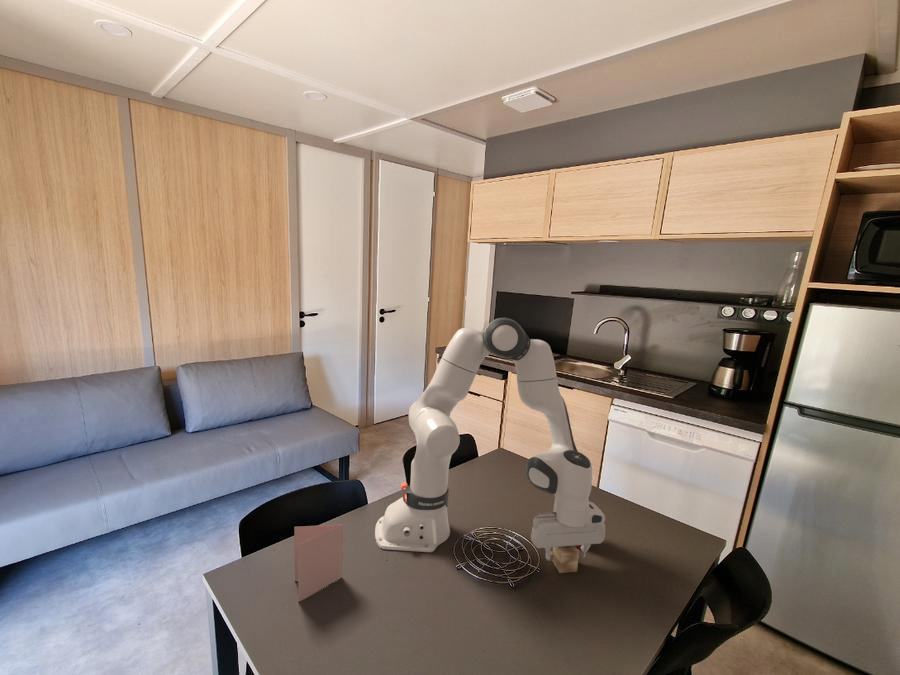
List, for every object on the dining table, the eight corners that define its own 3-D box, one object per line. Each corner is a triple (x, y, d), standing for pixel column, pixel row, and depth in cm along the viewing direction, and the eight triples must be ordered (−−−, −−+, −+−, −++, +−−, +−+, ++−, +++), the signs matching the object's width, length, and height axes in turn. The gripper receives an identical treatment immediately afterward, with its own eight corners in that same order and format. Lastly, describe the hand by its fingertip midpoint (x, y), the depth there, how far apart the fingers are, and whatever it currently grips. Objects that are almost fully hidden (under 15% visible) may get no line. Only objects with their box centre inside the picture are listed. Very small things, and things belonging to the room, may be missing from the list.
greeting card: (342, 575, 101) (343, 522, 98) (339, 599, 94) (340, 542, 91) (295, 578, 99) (295, 524, 96) (288, 603, 92) (288, 545, 89)
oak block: (559, 573, 106) (561, 553, 105) (551, 559, 111) (553, 540, 110) (576, 571, 107) (579, 551, 106) (568, 558, 112) (570, 539, 111)
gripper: (538, 521, 102) (533, 569, 104) (611, 516, 105) (604, 562, 108) (529, 506, 108) (525, 552, 110) (598, 502, 111) (592, 546, 114)
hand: (565, 557), depth 109 cm, fingers open, 8 cm apart
